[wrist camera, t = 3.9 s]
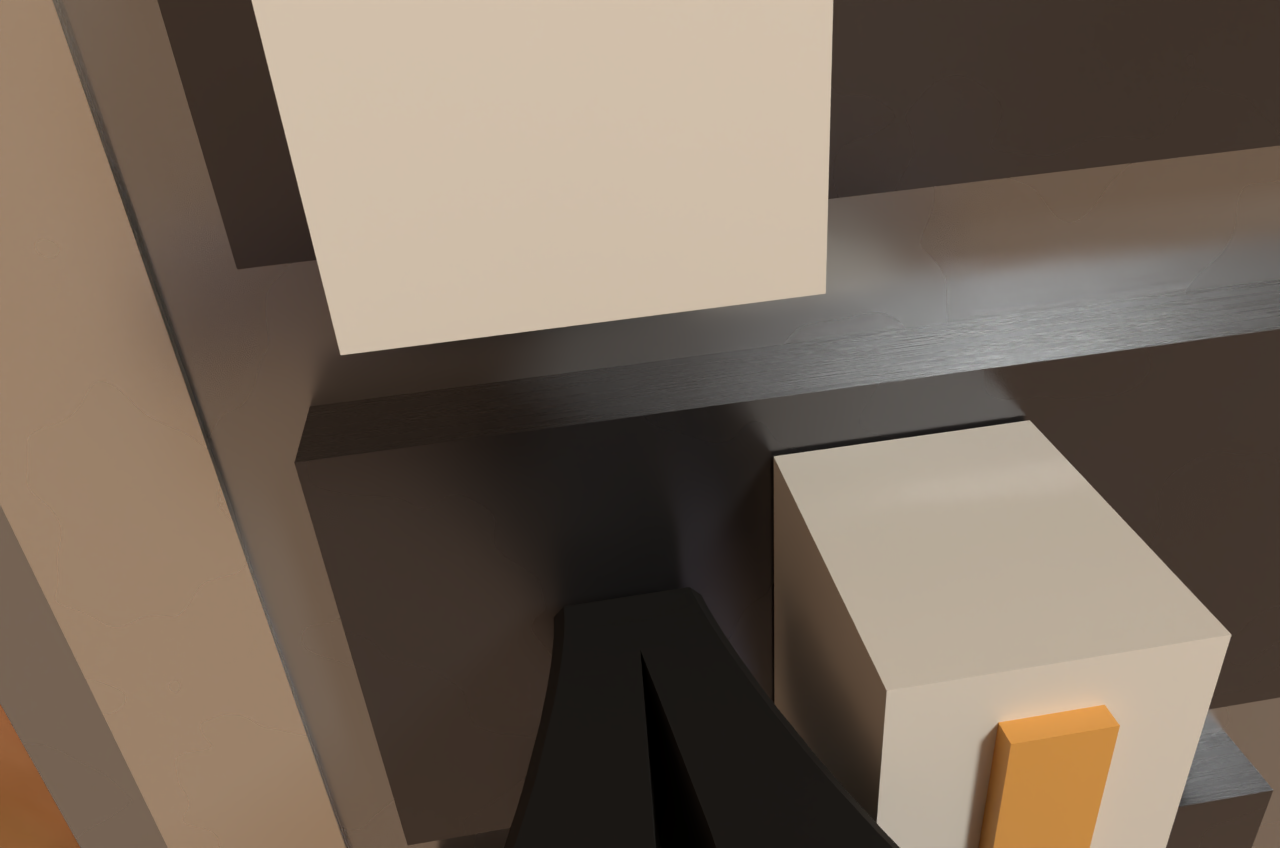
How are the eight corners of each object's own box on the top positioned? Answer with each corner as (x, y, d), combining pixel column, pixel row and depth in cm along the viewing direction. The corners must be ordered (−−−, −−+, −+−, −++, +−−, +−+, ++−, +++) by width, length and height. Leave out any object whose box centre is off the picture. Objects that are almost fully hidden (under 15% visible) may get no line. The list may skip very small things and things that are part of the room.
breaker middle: (985, 716, 12) (1142, 986, 9) (774, 751, 12) (869, 1040, 9) (1029, 419, 10) (1249, 655, 7) (773, 456, 9) (898, 712, 7)
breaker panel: (1216, 879, 18) (1301, 1000, 16) (256, 1057, 17) (229, 1212, 15) (1781, -699, 8) (2181, -858, 6) (-575, -597, 7) (-994, -766, 5)
